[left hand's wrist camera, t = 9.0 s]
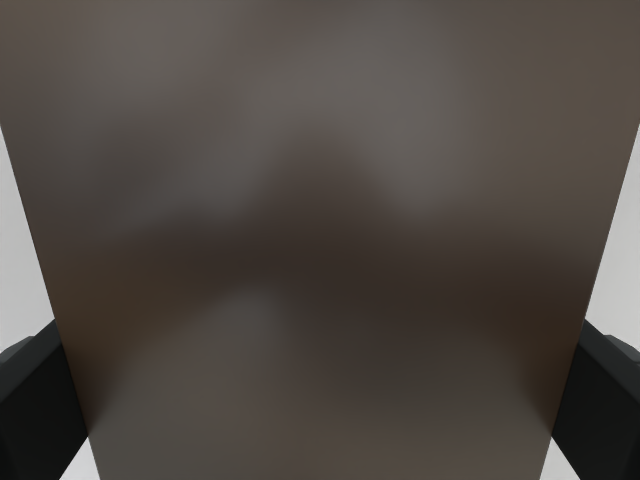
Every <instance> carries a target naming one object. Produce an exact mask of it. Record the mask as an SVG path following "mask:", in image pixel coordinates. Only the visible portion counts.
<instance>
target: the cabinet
mask: <svg viewBox="0 0 640 480" xmlns="http://www.w3.org/2000/svg"><path fill="white" fill-rule="evenodd" d="M639 124H640V0H0V126H1V130H2V133H3V137H4V140H5V144H6V147H7V151H8V154H9V158H10V161H11V165H12V169H13V172H14V176H15V179H16V183H17V186H18V190H19V193H20V197H21V200H22V204H23V208H24V211H25V215H26V218H27V222H28V225H29V229H30V232H31V236H32V239H33V243H34V247H35V250H36V254H37V257H38V261H39V264H40V268H41V271H42V275H43V278H44V282H45V286H46V289H47V293H48V296H49V300H50V303H51V307H52V310H53V314H54V318H55V321H56V325H57V328H58V332H59V335H60V339H61V342H62V346H63V349H64V353H65V357H66V360H67V364H68V367H69V371H70V374H71V378H72V381H73V385H74V388H75V392H76V396H77V399H78V403H79V406H80V410H81V413H82V417H83V420H84V424H85V427H86V431H87V435H88V438H89V442H90V445H91V449H92V452H93V456H94V459H95V463H96V466H97V470H98V474H99V477H100V480H539V479H540V476H541V472H542V468H543V465H544V461H545V458H546V454H547V451H548V447H549V444H550V440H551V436H552V433H553V429H554V426H555V422H556V419H557V415H558V412H559V408H560V404H561V401H562V397H563V394H564V390H565V387H566V383H567V380H568V376H569V372H570V369H571V365H572V362H573V358H574V355H575V351H576V348H577V344H578V341H579V337H580V333H581V330H582V326H583V323H584V319H585V316H586V312H587V309H588V305H589V301H590V298H591V294H592V291H593V287H594V284H595V280H596V277H597V273H598V269H599V266H600V262H601V259H602V255H603V252H604V248H605V245H606V241H607V237H608V234H609V230H610V227H611V223H612V220H613V216H614V213H615V209H616V205H617V202H618V198H619V195H620V191H621V188H622V184H623V181H624V177H625V173H626V170H627V166H628V163H629V159H630V156H631V152H632V149H633V145H634V141H635V138H636V134H637V131H638V127H639Z"/></svg>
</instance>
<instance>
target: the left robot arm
mask: <svg viewBox="0 0 640 480" xmlns="http://www.w3.org/2000/svg"><path fill="white" fill-rule="evenodd" d="M87 437H88V435H87V431H86V427H85V424H84V420H83V417H82V413H81V410H80V406H79V403H78V399H77V396H76V392H75V388H74V385H73V381H72V378H71V374H70V371H69V367H68V364H67V360H66V357H65V353H64V349H63V346H62V342H61V339H60V335H59V332H58V328H57V325H56V321H55V319H54V320H53V321H52V322H50V323H49V324H48V325H47V326H46V327H45V328H44V329H42V330H41V331H40V332H39V333H38V334H37V335H36V336H29V337H27V338H25V339H23V340H22V341H20V342H18V343H16V344H14V345H12V346H11V347H9V348H7V349H6V350H4V351H3V352H2V353H1V354H0V480H59V479H60V478H61V476H62V475H63V473H64V472H65V470H66V469H67V467H68V466H69V464H70V463H71V461H72V460H73V458H74V457H75V455H76V454H77V452H78V451H79V449H80V448H81V446H82V445H83V443H84V442H85V440H86V439H87ZM552 438H553V439H554V441H555V442H556V444H557V445H558V447H559V448H560V450H561V451H562V453H563V454H564V456H565V457H566V459H567V460H568V462H569V463H570V465H571V466H572V468H573V469H574V471H575V472H576V474H577V475H578V477H579V478H580V480H640V352H639V351H637V350H636V349H635V348H634V347H632V346H630V345H628V344H627V343H625V342H623V341H621V340H619V339H617V338H615V337H614V336H612V335H603V334H602V333H601V332H599V331H598V330H597V329H596V328H595V327H594V326H593V325H591V324H590V323H589V322H588V321H587V320H586V319H584V323H583V326H582V330H581V333H580V337H579V341H578V344H577V348H576V351H575V355H574V358H573V362H572V365H571V369H570V372H569V376H568V380H567V383H566V387H565V390H564V394H563V397H562V401H561V404H560V408H559V412H558V415H557V419H556V422H555V426H554V429H553V433H552Z"/></svg>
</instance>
